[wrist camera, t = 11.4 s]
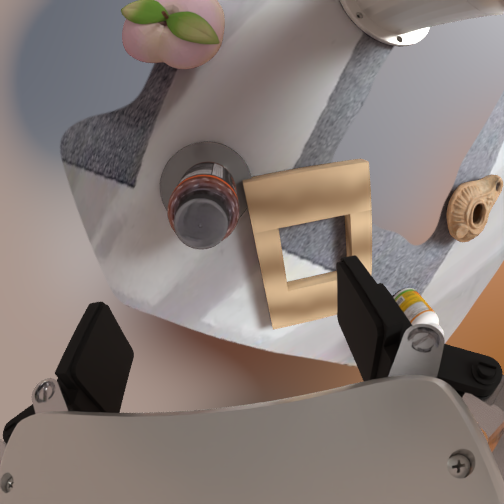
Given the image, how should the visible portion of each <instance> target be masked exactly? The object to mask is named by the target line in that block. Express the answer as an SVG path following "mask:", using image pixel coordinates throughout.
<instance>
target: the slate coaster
mask: <svg viewBox="0 0 504 504" xmlns="http://www.w3.org/2000/svg"><path fill="white" fill-rule="evenodd" d="M201 162H215V163H218V164H220V165H222V166H224V167H225V168H226V169H227V170H228V171H229V172H230V173H231V175H232V177H233V179H234V181H235V184H236V191H237V196H238V202H239V217H240V216H241V215H242V214H243V213H244V212H245V210H246V208H247V207H248V205H247V200H246V195H245V191H244V186H243V181H242V180H246V179H251V175H250V171H249V169H248V167H247V165H246V163H245V162H244V160H243V159H242V158H241V156H239V155H238V154H237V153H236V152H235V151H234V150H232V149H231V148H229V147H227V146H225V145H222V144H219V143H215V142H199V143H194V144H191V145H189V146H186V147H184V148H183V149H181V150H180V151H178V152H177V153H176V154H175V155H174V156H173V157H172V158H171V159H170V160H169V162H168V163H167V165H166V166H165V168H164V170H163V173H162V176H161V182H160V192H161V197H162V201H163V204H164V206H165V208H166V210H167V211H168V203H169V199H170V197H171V195H172V193H173V191H174V189H175V188H176V186H177V185H178V183H179V181H180V180H181V178H182V177H183V175H184V174H185V172H186V171H187V170H188V169H189V168H191V167H192V166H194V165H196V164H198V163H201Z"/></svg>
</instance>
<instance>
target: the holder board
mask: <svg viewBox="0 0 504 504" xmlns="http://www.w3.org/2000/svg"><path fill="white" fill-rule="evenodd" d="M242 181H243V186H244V191H245V195H246V200H247V205H248V210H249V215H250V220H251V225H252V230H253V234H254V239H255V244H256V249H257V254H258V259H259V264H260V268H261V273H262V278H263V283H264V288H265V293H266V298H267V303H268V308H269V313H270V318H271V322H272V327H273V329H278V328H282V327H287V326H291V325H296V324H300V323H304V322H309V321H313V320H317V319H321V318H325V317H329V316H333V315H337V271H334V272H329V273H325V274H321V275H316V276H312V277H308V278H303V279H299V280H294V281H290V282H287V280H286V274H285V267H284V261H283V255H282V248H281V242H280V236H279V230H278V228H283V227H288V226H293V225H298V224H302V223H307V222H312V221H317V220H322V219H327V218H332V217H337V216H342V215H345V231H346V252H347V257H348V256H353V255H356V256H357V257H358V258H359V260H360V261H361V262H362V264H363V265H364V266H365V268H366V269H367V270H368V272H369V273H370V275H371V272H372V217H371V215H372V214H371V189H370V173H369V162H368V161H366V160H363V159H355V160H348V161H341V162H334V163H327V164H321V165H315V166H309V167H303V168H297V169H291V170H286V171H280V172H275V173H270V174H264V175H259V176H254V177H251V179H246V180H242Z"/></svg>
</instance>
